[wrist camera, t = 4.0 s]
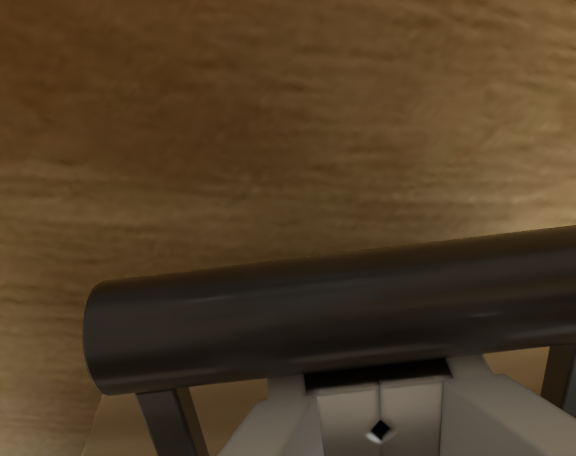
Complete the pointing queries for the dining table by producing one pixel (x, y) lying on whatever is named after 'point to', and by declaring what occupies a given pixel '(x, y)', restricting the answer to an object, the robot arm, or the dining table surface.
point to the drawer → (320, 330)
